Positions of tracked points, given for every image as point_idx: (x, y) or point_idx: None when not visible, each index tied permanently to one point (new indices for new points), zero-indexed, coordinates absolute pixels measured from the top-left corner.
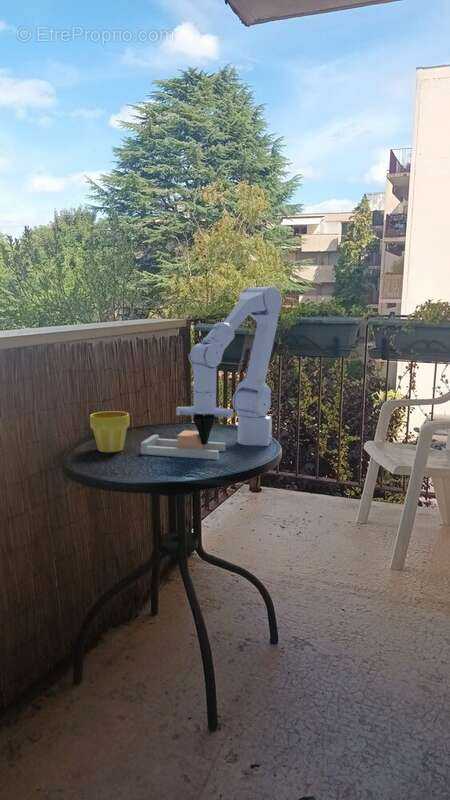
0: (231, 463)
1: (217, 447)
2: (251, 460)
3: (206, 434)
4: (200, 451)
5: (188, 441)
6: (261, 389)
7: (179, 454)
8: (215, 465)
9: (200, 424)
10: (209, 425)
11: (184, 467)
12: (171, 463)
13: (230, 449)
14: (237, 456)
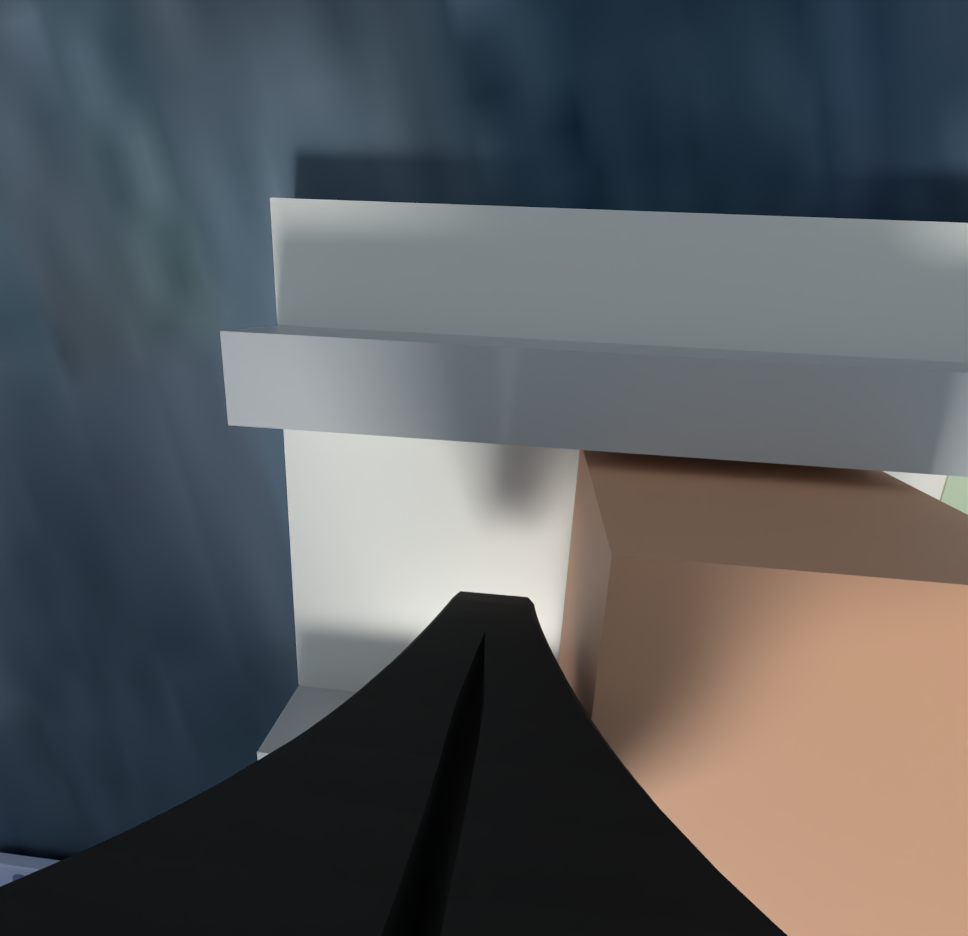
0: (154, 370)
1: None
2: (5, 523)
3: (397, 673)
4: (499, 347)
5: (769, 517)
6: None
7: (834, 359)
8: None
9: (521, 883)
10: (165, 822)
11: (681, 35)
12: (894, 202)
13: None
14: (179, 639)
